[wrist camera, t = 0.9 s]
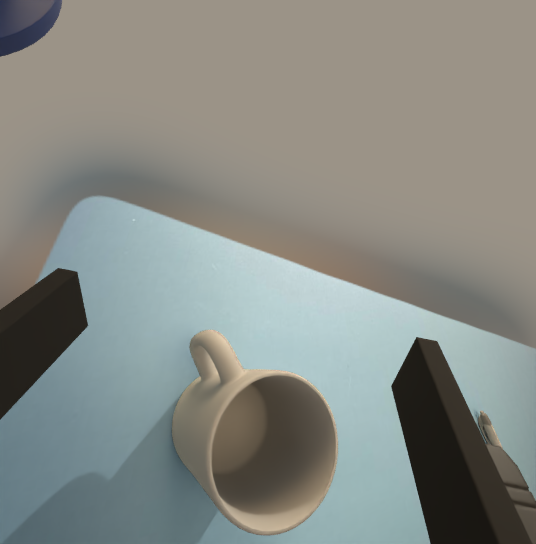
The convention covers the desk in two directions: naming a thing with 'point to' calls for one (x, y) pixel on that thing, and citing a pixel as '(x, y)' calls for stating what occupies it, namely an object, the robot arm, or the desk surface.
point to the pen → (488, 429)
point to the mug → (254, 439)
